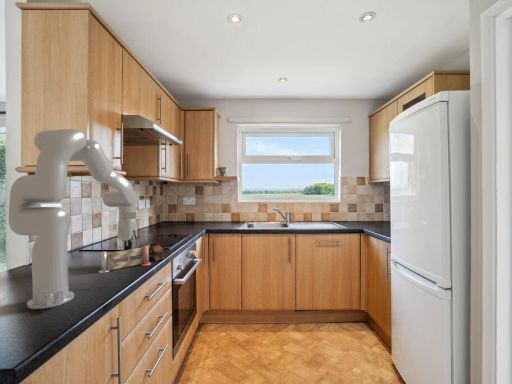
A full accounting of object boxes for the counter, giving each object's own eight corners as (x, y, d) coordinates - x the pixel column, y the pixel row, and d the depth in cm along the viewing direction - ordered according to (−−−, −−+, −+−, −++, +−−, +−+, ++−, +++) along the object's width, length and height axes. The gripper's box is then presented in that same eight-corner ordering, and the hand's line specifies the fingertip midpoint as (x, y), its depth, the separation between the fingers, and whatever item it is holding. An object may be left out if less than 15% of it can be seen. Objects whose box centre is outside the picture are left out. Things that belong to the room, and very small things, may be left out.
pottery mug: (149, 263, 138) (144, 248, 140) (150, 267, 146) (145, 253, 148) (173, 254, 144) (167, 240, 146) (172, 258, 151) (167, 245, 154)
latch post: (152, 264, 134) (152, 246, 134) (143, 266, 131) (142, 247, 131) (148, 262, 137) (148, 245, 137) (139, 264, 134) (139, 246, 134)
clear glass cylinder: (111, 271, 123) (110, 251, 123) (100, 273, 120) (99, 253, 120) (108, 269, 127) (107, 250, 127) (97, 271, 124) (97, 251, 123)
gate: (108, 270, 124) (108, 253, 124) (107, 269, 125) (107, 253, 125) (147, 262, 136) (147, 247, 136) (146, 261, 137) (146, 246, 137)
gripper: (111, 216, 134) (112, 253, 134) (129, 217, 126) (129, 257, 126) (126, 215, 140) (126, 250, 141) (143, 216, 132) (144, 253, 132)
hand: (128, 253), depth 133 cm, fingers closed
